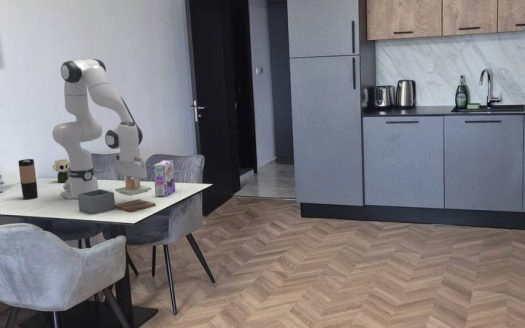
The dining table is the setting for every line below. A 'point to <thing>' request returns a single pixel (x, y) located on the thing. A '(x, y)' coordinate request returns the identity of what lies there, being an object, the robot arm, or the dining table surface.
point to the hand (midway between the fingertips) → (133, 185)
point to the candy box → (164, 178)
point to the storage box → (96, 201)
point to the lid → (132, 188)
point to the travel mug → (28, 179)
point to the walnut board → (134, 205)
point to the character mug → (61, 169)
